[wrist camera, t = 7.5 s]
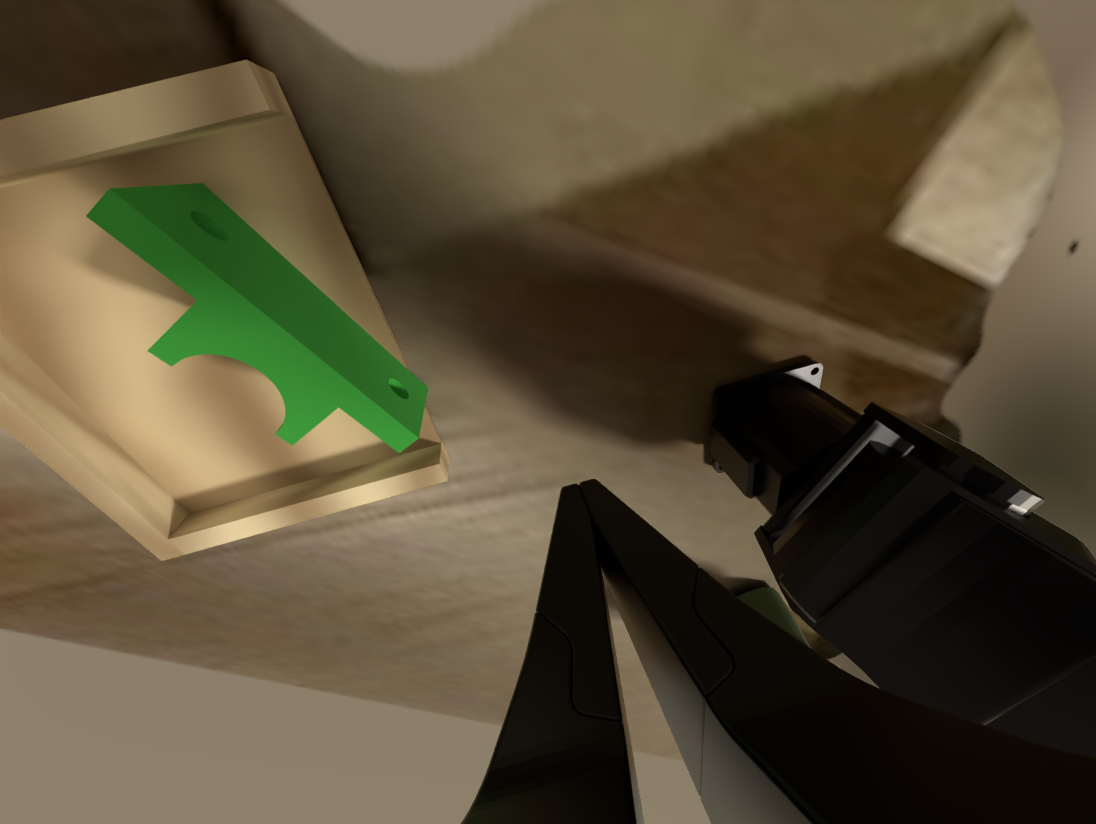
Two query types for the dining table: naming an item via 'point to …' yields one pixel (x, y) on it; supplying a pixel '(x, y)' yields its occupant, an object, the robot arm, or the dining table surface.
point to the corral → (176, 318)
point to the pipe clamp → (261, 313)
